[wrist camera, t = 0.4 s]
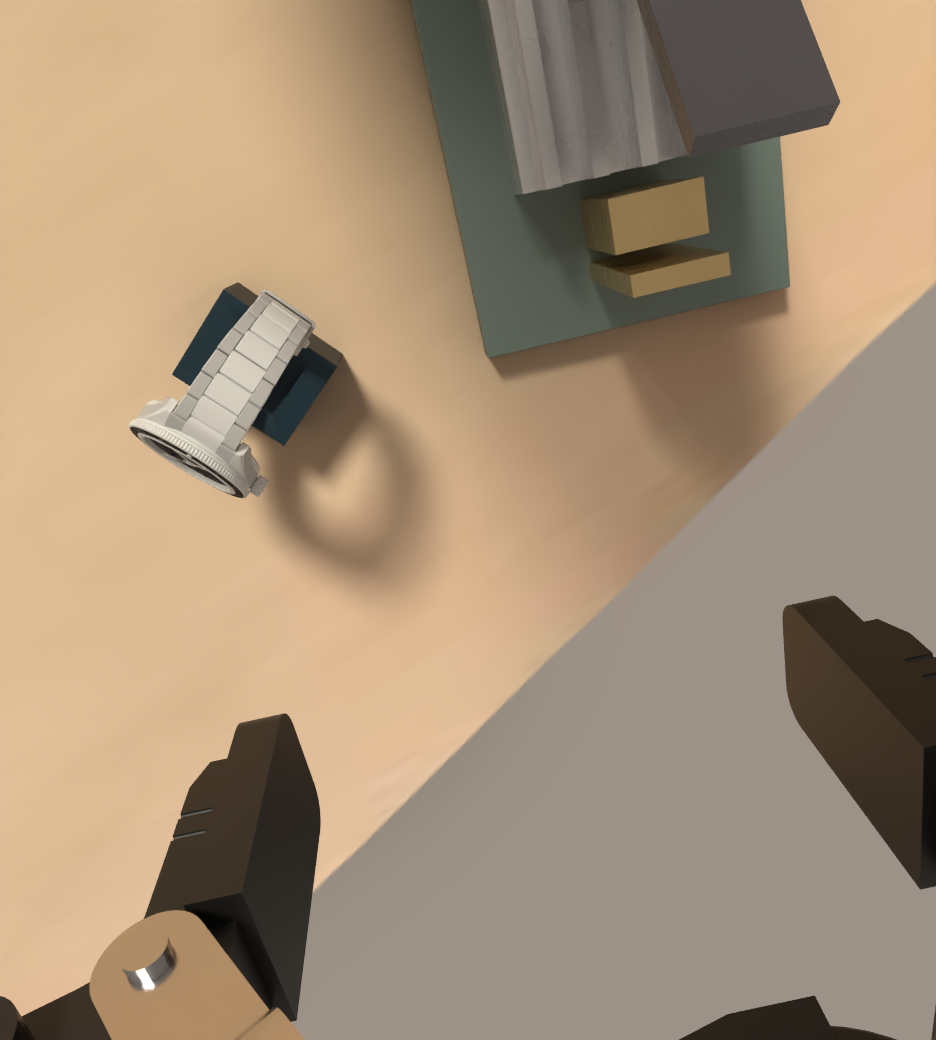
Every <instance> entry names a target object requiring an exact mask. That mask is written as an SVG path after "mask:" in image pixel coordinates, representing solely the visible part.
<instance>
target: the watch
mask: <svg viewBox="0 0 936 1040" xmlns="http://www.w3.org/2000/svg"><path fill="white" fill-rule="evenodd" d="M314 328H315V323H314V322H313V321H312V320H310V319H309V318H308V317H306V316H305V315H303V314H302V313H301V312H299V311H298V310H296V309H295V308H293V307H292V306H291V305H289V304H288V303H286V302H285V301H283V300H282V299H280V298H279V297H277V296H276V295H274V294H273V293H271V292H270V291H268V290H267V289H265V290H262V292H261V293H260V295H259V296H257V295H256V294H254V293H253V292H251V291H250V290H249V289H247V288H246V287H244V286H243V285H241V284H240V283H236V284H234V285H232V286H229V287H227V288H225V289H223V291H222V293H221V294H220V296H219V298H218V299H217V301H216V303H215V304H214V306H213V308H212V309H211V311H210V313H209V314H208V316H207V317H206V319H205V321H204V322H203V324H202V326H201V327H200V329H199V331H198V332H197V334H196V336H195V337H194V339H193V341H192V342H191V344H190V346H189V347H188V349H187V350H186V352H185V354H184V355H183V357H182V359H181V360H180V362H179V364H178V365H177V367H176V369H175V370H174V372H173V374H172V375H174V376H175V377H177V378H178V379H180V380H181V381H183V382H185V383H186V384H188V385H189V386H190V387H189V389H188V390H187V393H186V394H185V396H184V397H183V399H182V400H181V401H180V403H179V404H178V401H177V400H175V399H174V398H172V397H169V398H167V399H165V400H164V401H161V400H152V401H150V402H148V403H147V404H146V405H145V406H144V408H143V409H142V410H141V412H140V413H139V415H138V416H137V418H136V419H133V420H132V421H131V422H130V424H129V425H128V426H129V428H130V430H131V431H132V432H133V434H134V435H135V436H136V437H138V438H139V439H140V440H141V441H142V442H143V443H145V444H146V445H147V446H148V447H150V448H151V449H152V450H154V451H155V452H156V453H158V454H159V455H160V456H162V457H163V458H165V459H166V460H168V461H169V462H171V463H172V464H174V465H175V466H177V467H179V468H180V469H182V470H183V471H185V472H187V473H188V474H190V475H192V476H193V477H195V478H197V479H199V480H201V481H202V482H204V483H206V484H208V485H210V486H212V487H214V488H216V489H218V490H221V491H223V492H225V493H227V494H230V495H232V496H235V497H239V498H246V497H247V496H248V494H249V493H250V492H251V493H252V494H254V495H256V496H257V497H259V496H260V495H261V493H262V492H263V491H264V489H265V488H266V486H267V484H268V482H269V480H268V479H266V478H265V477H263V476H261V475H260V476H259V477H258V478H257V476H258V475H259V471H260V466H259V464H258V463H257V461H256V460H255V458H254V457H253V456H252V454H251V448H250V446H248V445H247V444H245V443H244V442H243V443H242V444H240V443H241V441H242V440H243V438H244V436H245V435H246V433H247V431H248V430H249V428H250V426H251V425H252V426H254V427H255V428H257V429H258V430H260V431H262V432H263V433H265V434H266V435H268V436H269V437H271V438H273V439H274V440H276V441H277V442H279V443H280V444H282V445H285V444H286V442H287V441H288V439H289V438H290V436H291V435H292V433H293V432H294V430H295V429H296V427H297V426H298V424H299V423H300V421H301V420H302V418H303V417H304V415H305V414H306V413H307V411H308V410H309V408H310V407H311V405H312V404H313V402H314V401H315V399H316V398H317V396H318V395H319V393H320V392H321V390H322V389H323V387H324V386H325V384H326V383H327V381H328V380H329V378H330V377H331V375H332V374H333V372H334V371H335V369H336V368H337V366H338V364H339V361H340V359H341V356H342V353H340V352H339V351H337V350H336V349H335V348H333V347H332V346H330V345H329V344H327V343H326V342H324V341H323V340H321V339H320V338H318V337H317V336H316V335H314V334H313V333H312V331H313V330H314ZM177 404H178V405H177ZM249 488H251V489H250V491H249Z"/></svg>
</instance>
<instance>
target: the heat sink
mask: <svg viewBox="0 0 936 1040" xmlns="http://www.w3.org/2000/svg"><path fill="white" fill-rule="evenodd" d="M478 6H479V11H480V16H481V22H482V27H483V33H484V38H485V43H486V49H487V54H488V59H489V65H490V70H491V75H492V81H493V86H494V92H495V97H496V102H497V108H498V113H499V118H500V124H501V129H502V135H503V140H504V145H505V151H506V156H507V161H508V167H509V172H510V177H511V183H512V188H513V194H514V195H519V194H526V193H530V192H535V191H540V190H548V189H552V188H557V187H561V186H562V185H564V184H568V183H572V182H576V181H581V180H586V179H594V178H598V177H603V176H607V175H610V173H614V172H618V171H622V170H626V169H632V168H639V167H644V166H648V165H653V164H657V163H658V162H660V161H664V160H668V159H672V158H678V157H684V156H688V155H687V152H686V149H685V146H684V143H683V139H682V136H681V133H680V130H679V127H678V124H677V121H676V118H675V115H674V112H673V109H672V106H671V103H670V100H669V97H668V94H667V91H666V88H665V85H664V82H663V79H662V76H661V73H660V70H659V67H658V64H657V61H656V58H655V55H654V52H653V49H652V46H651V43H650V40H649V37H648V34H647V31H646V28H645V25H644V22H643V19H642V16H641V13H640V10H639V7H638V4H637V1H636V0H478Z"/></svg>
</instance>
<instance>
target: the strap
mask: <svg viewBox="0 0 936 1040" xmlns="http://www.w3.org/2000/svg"><path fill="white" fill-rule="evenodd" d="M636 1H637V4H638V7H639V10H640V13H641V16H642V19H643V22H644V25H645V28H646V31H647V34H648V37H649V40H650V43H651V46H652V49H653V52H654V55H655V58H656V61H657V64H658V67H659V70H660V73H661V76H662V79H663V82H664V85H665V88H666V91H667V94H668V97H669V100H670V103H671V106H672V109H673V112H674V115H675V118H676V121H677V124H678V127H679V130H680V133H681V136H682V139H683V143H684V146H685V149H686V152H687V155H688V158H692V157H696V156H700V155H704V154H709V153H713V152H717V151H721V150H725V149H729V148H734V147H738V146H742V145H746V144H750V143H754V142H759V141H763V140H767V139H771V138H775V137H780V136H784V135H788V134H792V133H796V132H800V131H805V130H809V129H813V128H817V127H821V126H825V125H828V124H829V122H830V121H831V119H832V117H833V115H834V113H835V111H836V109H837V107H838V105H839V103H840V100H839V97H838V95H837V92H836V90H835V87H834V85H833V82H832V79H831V77H830V74H829V72H828V69H827V67H826V64H825V61H824V59H823V56H822V54H821V51H820V49H819V46H818V43H817V41H816V38H815V36H814V33H813V31H812V28H811V25H810V23H809V20H808V18H807V15H806V13H805V10H804V8H803V5H802V2H801V0H636Z"/></svg>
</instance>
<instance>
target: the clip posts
mask: <svg viewBox="0 0 936 1040" xmlns="http://www.w3.org/2000/svg"><path fill="white" fill-rule="evenodd" d="M579 203H580V209H581V216H582V222H583V228H584V235H585V241H586V247H587V248H589V249H593V250H597V251H601V252H605V253H609V254H613V255H616V256H612V257H607V258H603V259H599V260H595V261H591V262H589V266H590V273H591V279H592V281H594V282H597V283H599V284H602V285H604V286H606V287H609V288H611V289H613V290H616V291H618V292H620V293H623V294H625V295H628V296H630V297H632V298H635V297H640V296H644V295H648V294H652V293H656V292H661V291H665V290H669V289H673V288H678V287H682V286H686V285H690V284H694V283H699V282H703V281H707V280H711V279H716V278H720V277H724V276H728V275H731V271H730V261H729V252H725V251H718V250H712V249H705V248H699V247H692V246H686V245H679V244H673V243H669V242H674V241H678V240H682V239H686V238H690V237H695V236H699V235H703V234H707V233H709V224H708V214H707V205H706V195H705V185H704V176H703V177H692V178H680V179H668V180H660V181H656V182H651V183H647V184H643V185H639V186H635V187H630V188H626V189H622V190H618V191H614V192H610V193H605V194H601V195H597V196H593V197H589V198H584V199H580V200H579ZM665 243H666V244H665ZM661 244H662V245H661ZM657 245H658V246H657ZM653 246H654V247H653ZM648 247H649V248H648ZM644 248H645V249H644ZM640 249H641V250H640ZM636 250H637V251H636ZM632 251H633V252H632ZM627 252H628V253H627ZM623 253H624V254H623ZM619 254H620V255H619Z"/></svg>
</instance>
